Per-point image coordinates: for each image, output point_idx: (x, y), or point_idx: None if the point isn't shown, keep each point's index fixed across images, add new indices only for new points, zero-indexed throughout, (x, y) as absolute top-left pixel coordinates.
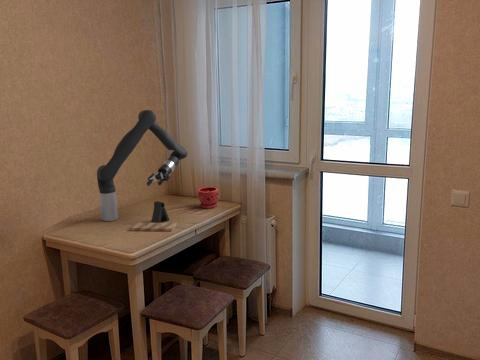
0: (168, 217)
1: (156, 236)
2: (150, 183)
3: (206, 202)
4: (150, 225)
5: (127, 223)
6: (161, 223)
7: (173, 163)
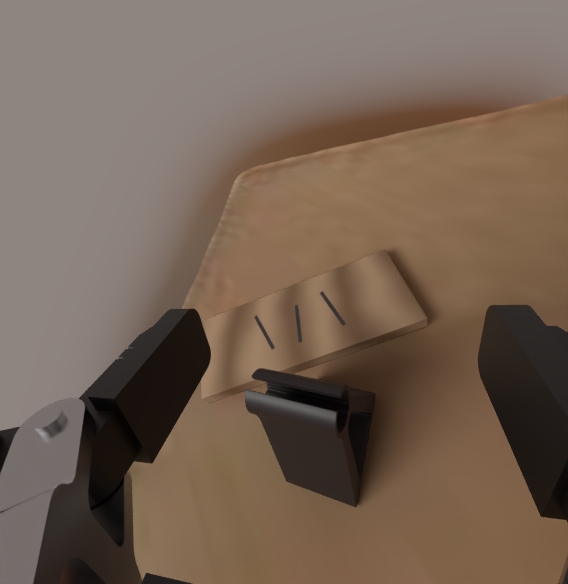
0: (282, 469)
1: (237, 266)
2: (510, 424)
3: None
4: (311, 314)
5: None
6: (273, 360)
7: None
